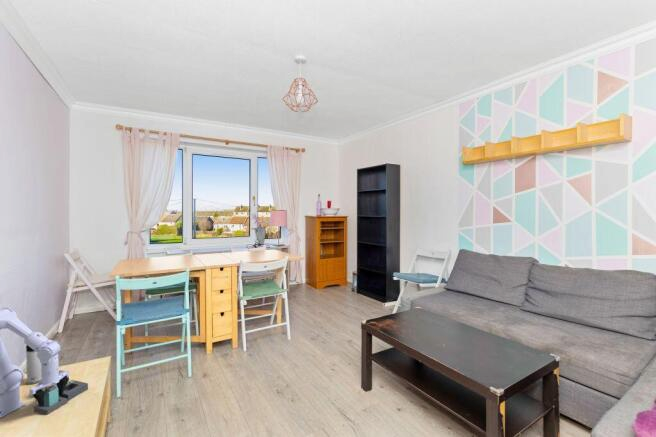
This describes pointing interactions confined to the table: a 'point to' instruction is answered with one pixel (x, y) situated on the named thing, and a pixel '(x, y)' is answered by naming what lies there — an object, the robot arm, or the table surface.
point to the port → (74, 389)
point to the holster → (52, 408)
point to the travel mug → (33, 366)
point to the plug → (51, 396)
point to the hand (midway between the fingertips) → (51, 400)
